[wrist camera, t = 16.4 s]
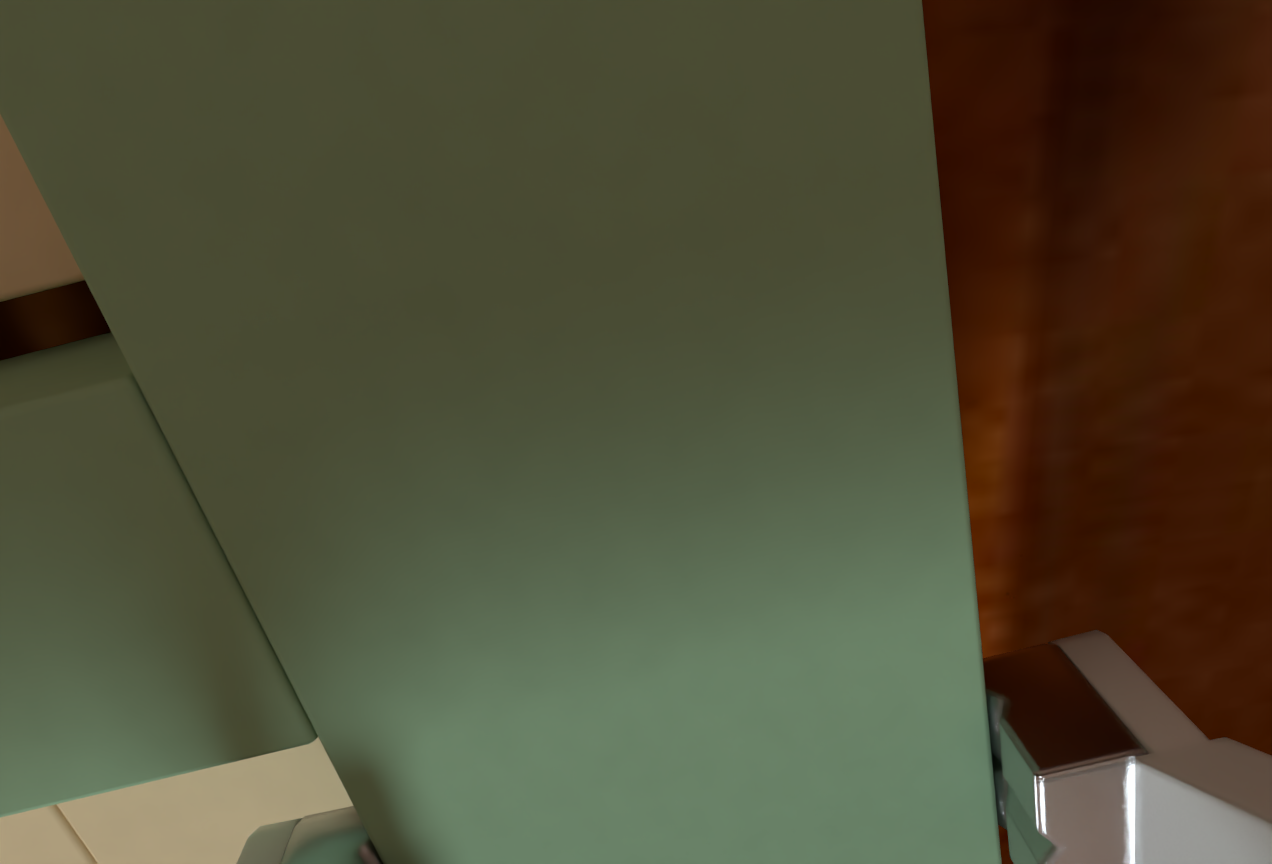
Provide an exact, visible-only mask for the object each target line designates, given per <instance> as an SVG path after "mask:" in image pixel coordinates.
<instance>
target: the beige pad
mask: <svg viewBox="0 0 1272 864" xmlns="http://www.w3.org/2000/svg"><path fill="white" fill-rule="evenodd" d="M84 280H85V279H84V277H83V275H82V273H81V271H80V269H79V267H78V265H77V263H76V261H75V259H74V257H73V255H72V253H71V251H70V249H69V248H68V246H67V244H66V242H65V240H64V238H63V236H62V234H61V232H60V230H59V228H58V226H57V224H56V222H55V220H54V218H53V216H52V214H51V212H50V210H49V208H48V206H47V204H46V203H45V201H44V199H43V197H42V195H41V193H40V191H39V189H38V187H37V185H36V183H35V181H34V179H33V177H32V175H31V173H30V171H29V169H28V167H27V165H26V163H25V161H24V159H23V157H22V156H21V154H20V152H19V150H18V148H17V146H16V144H15V142H14V140H13V138H12V136H11V134H10V132H9V130H8V128H7V126H6V124H5V122H4V120H3V118H2V116H1V114H0V302H2V301H6V300H10V299H14V298H18V297H22V296H26V295H30V294H34V293H37V292H41V291H45V290H49V289H53V288H57V287H61V286H65V285H69V284H73V283H76V282H80V281H84ZM350 806H354V805H353V804H352V802H351V800H350V798H349V796H348V794H347V792H346V790H345V788H344V786H343V784H342V782H341V780H340V778H339V776H338V774H337V772H336V770H335V768H334V766H333V764H332V762H331V760H330V759H329V757H328V755H327V753H326V751H325V749H324V747H323V745H322V743H321V741H320V739H319V737H318V738H317V739H316V740H315V741H313V742H312V743H310V744H307V745H303V746H299V747H294V748H290V749H286V750H282V751H278V752H273V753H269V754H265V755H261V756H257V757H252V758H248V759H244V760H240V761H236V762H231V763H227V764H223V765H219V766H215V767H210V768H206V769H202V770H198V771H194V772H189V773H185V774H181V775H177V776H173V777H168V778H164V779H160V780H156V781H152V782H147V783H143V784H139V785H135V786H131V787H126V788H122V789H118V790H114V791H110V792H105V793H101V794H97V795H93V796H89V797H84V798H80V799H76V800H72V801H68V802H63V803H59V804H55V805H51V806H47V807H43V808H38V809H34V810H30V811H26V812H22V813H17V814H13V815H9V816H5V817H1V818H0V864H237V861H238V859H239V857H240V854H241V852H242V850H243V847H244V845H245V843H246V841H247V839H248V837H249V836H250V835H251V834H252V833H253V832H254V831H255V830H256V829H258V828H259V827H260V826H264V825H269V824H274V823H279V822H284V821H289V820H294V819H299V818H303V817H304V816H307V815H312V814H316V813H321V812H326V811H331V810H336V809H340V808H345V807H350Z"/></svg>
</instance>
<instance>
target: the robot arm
mask: <svg viewBox="0 0 1272 864" xmlns="http://www.w3.org/2000/svg"><path fill="white" fill-rule="evenodd" d="M983 668H984V679H985V690H986V701H987V711H988V722H989V733H990V744H991V755H992V766H993V776H994V787H995V798H996V809H997V820H998V825H1000V826H1002V827H1003V828H1005V829H1007V830H1008V840H1009V851H1010V858H1011V859H1012V861H1013V863H1014V864H1272V756H1271V755H1268V754H1266V753H1263V752H1261V751H1259V750H1256V749H1254V748H1251V747H1249V746H1246V745H1244V744H1241V743H1239V742H1236V741H1234V740H1232V739H1229V738H1227V737H1223V738H1219V739H1214V740H1209V739H1208V738H1207V737H1206V736H1205V735H1204V734H1203V733H1202V732H1201V731H1200V730H1199V729H1198V728H1197V727H1196V726H1195V725H1194V724H1193V722H1192V721H1191V720H1190V719H1189V718H1188V717H1187V716H1186V715H1185V714H1184V713H1183V712H1182V711H1181V710H1180V709H1179V708H1178V707H1177V706H1176V705H1175V704H1174V703H1173V702H1172V701H1171V700H1170V699H1169V698H1168V697H1167V696H1166V695H1165V694H1164V693H1163V692H1162V691H1161V690H1160V688H1159V687H1158V686H1157V685H1156V684H1155V683H1154V682H1153V681H1152V680H1151V679H1150V678H1149V677H1148V676H1147V675H1146V674H1145V673H1144V672H1143V671H1142V670H1141V669H1140V668H1139V667H1138V666H1137V665H1136V664H1135V663H1134V662H1133V661H1132V660H1131V659H1130V658H1129V657H1128V655H1127V654H1126V653H1125V652H1124V651H1123V650H1122V649H1121V648H1120V647H1119V646H1118V645H1117V644H1116V643H1115V642H1114V641H1113V640H1112V639H1111V638H1110V637H1109V636H1108V635H1107V634H1105V633H1103V632H1100V631H1098V630H1094V631H1090V632H1086V633H1082V634H1078V635H1074V636H1070V637H1066V638H1062V639H1058V640H1054V641H1050V642H1049V643H1048V644H1040V645H1036V646H1032V647H1027V648H1023V649H1019V650H1015V651H1011V652H1007V653H1003V654H999V655H995V656H991V657H986V658H983ZM237 864H383V862H382V860H381V858H380V856H379V854H378V852H377V851H376V849H375V847H374V845H373V843H372V841H371V839H370V837H369V835H368V833H367V831H366V829H365V827H364V825H363V823H362V821H361V819H360V817H359V815H358V813H357V811H356V809H355V807H354V806H350V807H345V808H340V809H336V810H331V811H326V812H321V813H316V814H312V815H307V816H304V817H303V818H299V819H294V820H289V821H284V822H279V823H274V824H269V825H264V826H260V827H259V828H258V829H256V830H255V831H254V832H253V833H252V834H251V835H250V836H249V837H248V839H247V841H246V843H245V845H244V847H243V850H242V852H241V854H240V857H239V859H238V861H237Z"/></svg>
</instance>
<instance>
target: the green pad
mask: <svg viewBox="0 0 1272 864" xmlns="http://www.w3.org/2000/svg"><path fill="white" fill-rule="evenodd" d="M0 114H1V116H2V118H3V120H4V122H5V124H6V126H7V128H8V130H9V132H10V134H11V136H12V138H13V140H14V142H15V144H16V146H17V148H18V150H19V152H20V154H21V156H22V157H23V159H24V161H25V163H26V165H27V167H28V169H29V171H30V173H31V175H32V177H33V179H34V181H35V183H36V185H37V187H38V189H39V191H40V193H41V195H42V197H43V199H44V201H45V203H46V204H47V206H48V208H49V210H50V212H51V214H52V216H53V218H54V220H55V222H56V224H57V226H58V228H59V230H60V232H61V234H62V236H63V238H64V240H65V242H66V244H67V246H68V248H69V249H70V251H71V253H72V255H73V257H74V259H75V261H76V263H77V265H78V267H79V269H80V271H81V273H82V275H83V277H84V279H85V281H86V283H87V285H88V287H89V289H90V291H91V293H92V295H93V296H94V298H95V300H96V302H97V304H98V306H99V308H100V310H101V312H102V314H103V316H104V318H105V320H106V322H107V324H108V326H109V328H110V330H111V332H110V333H106V334H102V335H98V336H94V337H90V338H86V339H82V340H79V341H75V342H71V343H67V344H63V345H59V346H55V347H51V348H47V349H44V350H40V351H36V352H32V353H28V354H24V355H20V356H16V357H12V358H9V359H5V360H1V361H0V818H1V817H5V816H9V815H13V814H17V813H22V812H26V811H30V810H34V809H38V808H43V807H47V806H51V805H55V804H59V803H63V802H68V801H72V800H76V799H80V798H84V797H89V796H93V795H97V794H101V793H105V792H110V791H114V790H118V789H122V788H126V787H131V786H135V785H139V784H143V783H147V782H152V781H156V780H160V779H164V778H168V777H173V776H177V775H181V774H185V773H189V772H194V771H198V770H202V769H206V768H210V767H215V766H219V765H223V764H227V763H231V762H236V761H240V760H244V759H248V758H252V757H257V756H261V755H265V754H269V753H273V752H278V751H282V750H286V749H290V748H294V747H299V746H303V745H307V744H310V743H312V742H313V741H315V740H316V739H317V738H318V737H319V739H320V741H321V743H322V745H323V747H324V749H325V751H326V753H327V755H328V757H329V759H330V760H331V762H332V764H333V766H334V768H335V770H336V772H337V774H338V776H339V778H340V780H341V782H342V784H343V786H344V788H345V790H346V792H347V794H348V796H349V798H350V800H351V802H352V804H353V805H354V807H355V809H356V811H357V813H358V815H359V817H360V819H361V821H362V823H363V825H364V827H365V829H366V831H367V833H368V835H369V837H370V839H371V841H372V843H373V845H374V847H375V849H376V851H377V852H378V854H379V856H380V858H381V860H382V862H383V864H1002V863H1001V852H1000V841H999V831H998V820H997V809H996V798H995V787H994V776H993V766H992V755H991V744H990V733H989V722H988V711H987V701H986V690H985V679H984V668H983V657H982V647H981V636H980V625H979V614H978V603H977V592H976V582H975V571H974V560H973V549H972V538H971V527H970V517H969V506H968V495H967V484H966V473H965V462H964V452H963V441H962V430H961V419H960V408H959V397H958V387H957V376H956V365H955V354H954V343H953V333H952V322H951V311H950V300H949V289H948V278H947V268H946V257H945V246H944V235H943V224H942V213H941V203H940V192H939V181H938V170H937V159H936V148H935V138H934V127H933V116H932V105H931V94H930V84H929V73H928V62H927V51H926V40H925V29H924V19H923V8H922V0H0Z"/></svg>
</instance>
